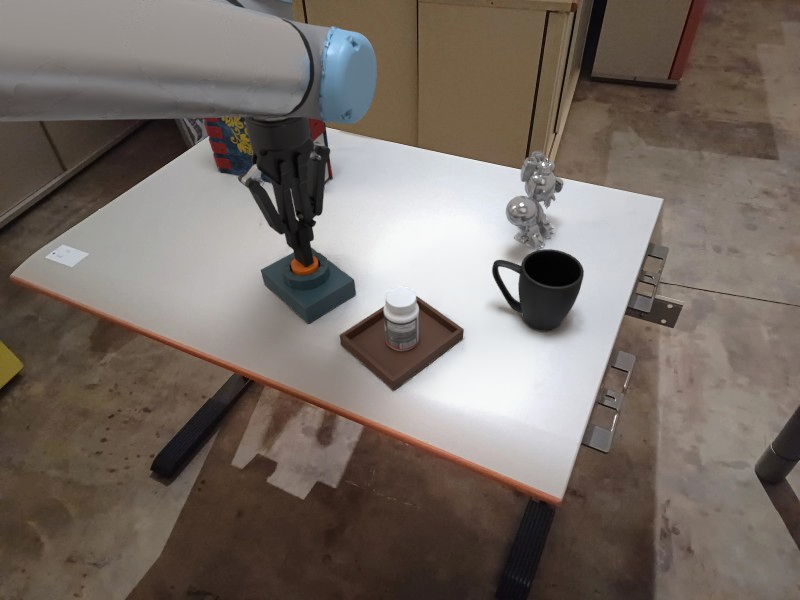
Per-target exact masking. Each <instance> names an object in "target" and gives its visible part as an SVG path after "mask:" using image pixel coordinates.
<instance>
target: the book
mask: <svg viewBox="0 0 800 600" xmlns="http://www.w3.org/2000/svg"><path fill="white" fill-rule="evenodd" d="M308 119H309V125H310V137H311V138H312V140H313V142H319V143H321V144H323V145H324V146H326V147H328V148H329V142H328V133H327V126H326V123H324V122H322V120H317V119H312V118H308ZM202 120H203V121H204V122H203V125H204V128H205V131H206V133H207V136H208V141H209V144H210V145H209V146H210V149H211V150H212V152H213V155H212V156H213V159H214V161H215V165H216V167H217V168H218V171H219V172H220V173H221V174H230V175H234V176H238V177H239V175H240V174H242V173H244V174H247V173H248V171H249V170H250V169H251V167H252V166H253V164H252V156H253V149H252V146H251V143H250V140H249V136H248V131H247V127H246V123H245V119H244V117H224V118H202ZM330 156H331V154H330V155H329V158H328V160H327V163H326V170H325V182H326V181H327V180H333V170H332V164H331V163H332V162H331V157H330ZM306 170H308V163H307V166H306ZM261 178H262V180H263V182H266V183H271V182H270V180H269V177H267V176H266V175H265V174H263V173H261Z"/></svg>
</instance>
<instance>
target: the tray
mask: <svg viewBox="0 0 800 600" xmlns="http://www.w3.org/2000/svg"><path fill="white" fill-rule="evenodd" d="M416 300H417V304H418V307H419V341H418V343H417V345H416V346H415V347H414V348H412V349H410V350H407V351H397V350H394V349H392V348H391V347H389V346H388V344H387V343H386V339H385V326H384V306H382V307H380V308H379V309H377V310H375V311H374V312H373V313H371V314H370V315H368V316H367V317H365V318H363V319H362V320H360V321H359V322H357V323H356V324H354V325H353V326H351V327H350V328H347V330H345V331H344V332H342V333H340V334H339V336H338V337H339V342H340V346H341V347H343V348H344V349H345V350H346V351H347V352H348V353H349V354H350V355H352V356H353V357H354V358H355V359H356V360H357V361H359V363H361V364H362V365H363V366H364V367H366V368H367V370H369V371H370V372H371V373H372V374H373V375H375V376H376V377H377V378H378V379H379V380H380V381H382V382H383V383H384V384H385V385H386V386H387V387H388V388H390V389H391V390H392V391H393V392H395V391H396V390H398V389H399V388H400V387H402V386H403V385H404V384H405V383H407V382H408V381H409V380H411V379H412V378H414V376H416V375H417V374H419V373H420V372H421V371H423V370H424V369H425V368H427V367H428V366H429V365H430V364H432V363H434V362H435V361H436V360H437V359H439V358H440V357H441V356H443V355H444V354H445V353H447V352H448V351H449V350H450V349H452V348H453V347H454V346H456V345H457V344H459V343H460V342H461V341H463V340H464V335H465V334H464V333H465V330H464V329H465V328H463V327H461V326H460V325H459V324H457V323H456V322H455V321H453V320H452V319H451V318H449V317H447V316H446V315H444V314H443V313H442V312H440V311H439V310H438V309H436V308H434V307H433V306H432V305H430V304H429V303H427V302H426V301H425V300H423V299H422V298H421V297H419V296H418V295H416Z"/></svg>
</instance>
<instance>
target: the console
mask: <svg viewBox="0 0 800 600" xmlns="http://www.w3.org/2000/svg"><path fill="white" fill-rule="evenodd" d="M311 249H312V255H313V256H315V257H316V258H317V260H318V265H319V269H318V270H317V271H316V272H314V273H313V274H311V275H304V276H301V275H295V274H294V273H293V272H292V267H291V262H292V260H293V259H294V258H295V256H294V251H293V252H291V253H290V254H288V255H286V256H283V257H282V258H280V259H278V260H276V261H274V262H273V263H270V264H269V265H267V266H265V267H263V268H261V269H260V274H261V278H262V281H263V284H264V285H263V286H265V288H267V289H268V290H270V292H272V294H274V295H275V296H276V297H277V298H278V299H279V300H280V301H282V302H283V303H284V304H285V305H286V306H288V307H289V308H290V309H291V310H292V311H293V312H294V313H295V314H296V315H297V316H299V317H300V318H301V319H302V320H303V321H304V322H306V323H307V324H308V325H310V324H312V323H313V322H315V321H316V320H318V319H319V318H322V317H323V316H324V315H327V314H328V313H329V312H331V311H332V310H334V309H336V308H337V307H339V306H341V305H342V304H344V303H346V302H347V301H348V300H351V299H352V298H354V297H356V296H357V291H356V280H355V279H354V278H353V277H352V276H351V275H349V274H348V273H346V272H345V271H343V270H342V269H341V268H340V267H338V266H337V265H336V264H334V263H333V262H332V261H330V260H329V259H328V257H326V256H325V255H324V254H323V253H321V252H319V251H317V250H315V249H314V248H313V247H312V246H311Z"/></svg>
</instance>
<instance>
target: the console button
mask: <svg viewBox="0 0 800 600" xmlns="http://www.w3.org/2000/svg"><path fill="white" fill-rule="evenodd" d="M313 261H314V263H313V264H311V265H309V266H307V267H305V266H303V265H302V264H301V263H300V262H298V261H297V260H296V259H295V258H294V259H293V260H292V262H291V267H292V272H293V273H294V274H295V275H301V276H304V275H311V274H313V273H314V272H316V271H317V270H318V269H319V265H318V260H317V258H316V257H315V256H313Z"/></svg>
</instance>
